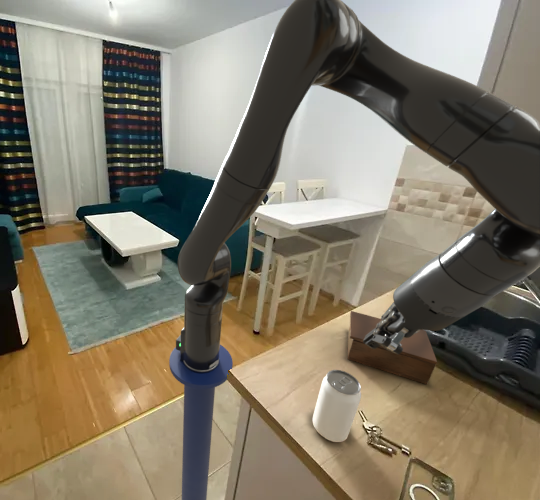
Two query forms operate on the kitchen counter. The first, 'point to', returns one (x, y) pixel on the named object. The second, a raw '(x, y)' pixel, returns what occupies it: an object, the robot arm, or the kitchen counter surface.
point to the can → (336, 405)
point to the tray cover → (412, 346)
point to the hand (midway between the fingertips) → (368, 343)
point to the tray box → (390, 361)
